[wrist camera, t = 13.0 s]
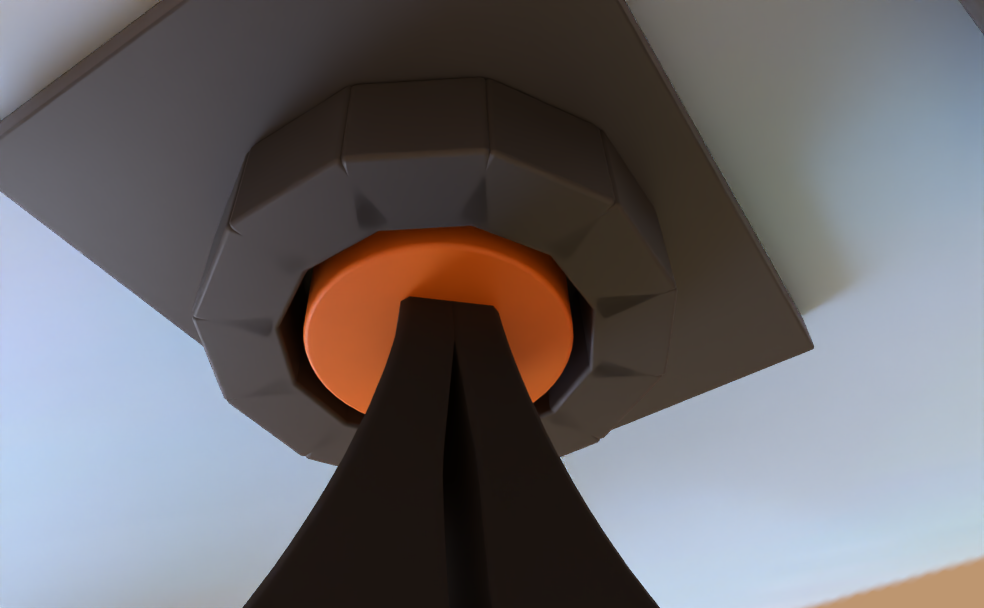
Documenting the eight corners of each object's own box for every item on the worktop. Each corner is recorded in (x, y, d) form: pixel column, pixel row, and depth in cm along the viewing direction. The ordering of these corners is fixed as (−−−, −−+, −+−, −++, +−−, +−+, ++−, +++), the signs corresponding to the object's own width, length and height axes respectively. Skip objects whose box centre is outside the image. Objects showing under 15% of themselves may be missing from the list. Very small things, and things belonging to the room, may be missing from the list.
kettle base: (-17, 133, 13) (-94, 244, 11) (488, -246, 10) (496, -176, 8) (416, 479, 20) (413, 585, 18) (803, 318, 17) (848, 427, 15)
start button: (260, 253, 14) (243, 324, 12) (475, 130, 12) (478, 198, 11) (413, 389, 16) (410, 459, 15) (607, 300, 15) (620, 370, 13)
